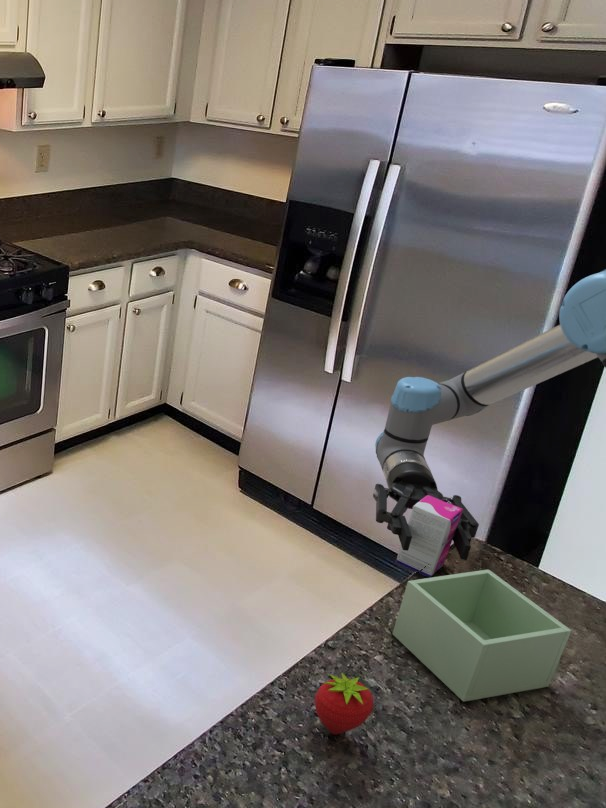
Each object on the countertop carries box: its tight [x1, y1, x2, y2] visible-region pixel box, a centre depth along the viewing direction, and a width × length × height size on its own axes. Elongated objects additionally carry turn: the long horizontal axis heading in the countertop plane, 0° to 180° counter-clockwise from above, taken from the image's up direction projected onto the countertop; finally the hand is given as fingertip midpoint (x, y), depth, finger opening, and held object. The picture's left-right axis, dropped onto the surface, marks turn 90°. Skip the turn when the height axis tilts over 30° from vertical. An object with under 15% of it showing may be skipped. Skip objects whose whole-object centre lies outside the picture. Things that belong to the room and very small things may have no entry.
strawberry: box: [314, 672, 374, 735], centre depth 100 cm, size 6×8×10 cm
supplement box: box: [395, 495, 463, 578], centre depth 132 cm, size 6×6×12 cm
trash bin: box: [392, 569, 572, 703], centre depth 112 cm, size 14×14×10 cm
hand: (436, 548), depth 127 cm, fingers closed on supplement box, 8 cm apart
